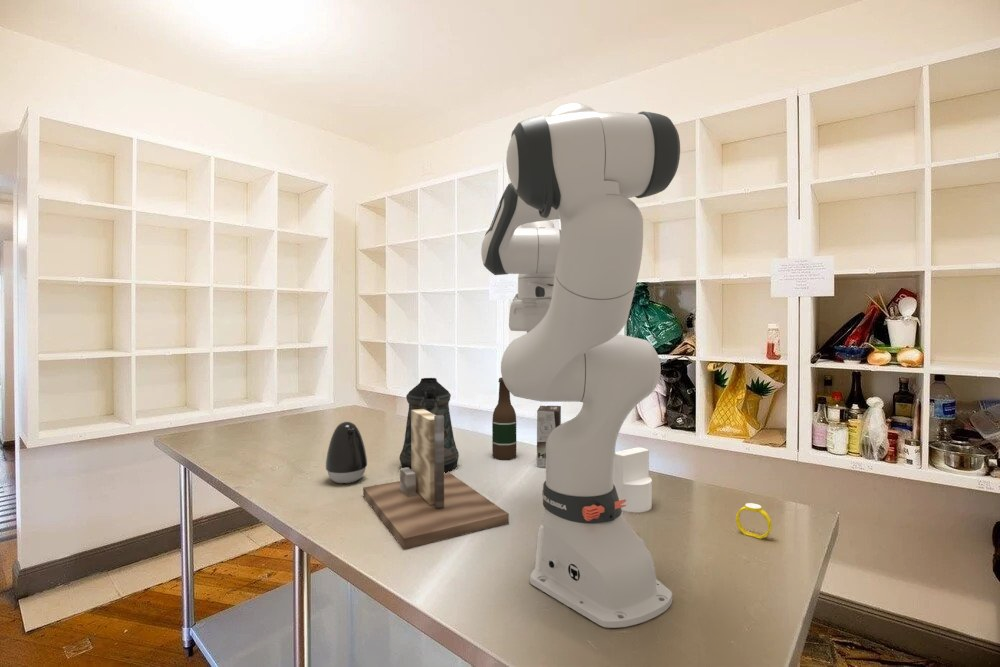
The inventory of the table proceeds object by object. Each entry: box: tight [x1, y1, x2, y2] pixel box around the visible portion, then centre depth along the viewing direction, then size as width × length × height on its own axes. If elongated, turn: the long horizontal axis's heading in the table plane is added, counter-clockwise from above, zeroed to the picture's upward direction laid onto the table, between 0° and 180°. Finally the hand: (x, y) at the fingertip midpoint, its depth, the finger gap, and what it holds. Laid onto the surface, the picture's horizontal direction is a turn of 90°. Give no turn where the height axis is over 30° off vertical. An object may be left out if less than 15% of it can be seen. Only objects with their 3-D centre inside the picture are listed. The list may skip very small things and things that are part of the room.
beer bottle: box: [491, 377, 517, 461], centre depth 143 cm, size 8×8×24 cm
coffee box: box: [536, 405, 562, 468], centre depth 136 cm, size 9×6×16 cm
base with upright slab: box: [613, 446, 653, 513], centre depth 106 cm, size 9×9×12 cm
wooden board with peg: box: [362, 467, 510, 550], centre depth 104 cm, size 30×22×7 cm
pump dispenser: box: [325, 421, 368, 484], centre depth 122 cm, size 10×10×15 cm
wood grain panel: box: [411, 409, 444, 508], centre depth 105 cm, size 16×3×19 cm, turn 28°
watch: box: [735, 502, 773, 540], centre depth 91 cm, size 6×3×6 cm, turn 49°
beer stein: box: [399, 377, 460, 473], centre depth 132 cm, size 16×19×25 cm
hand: (536, 351), depth 109 cm, fingers closed
